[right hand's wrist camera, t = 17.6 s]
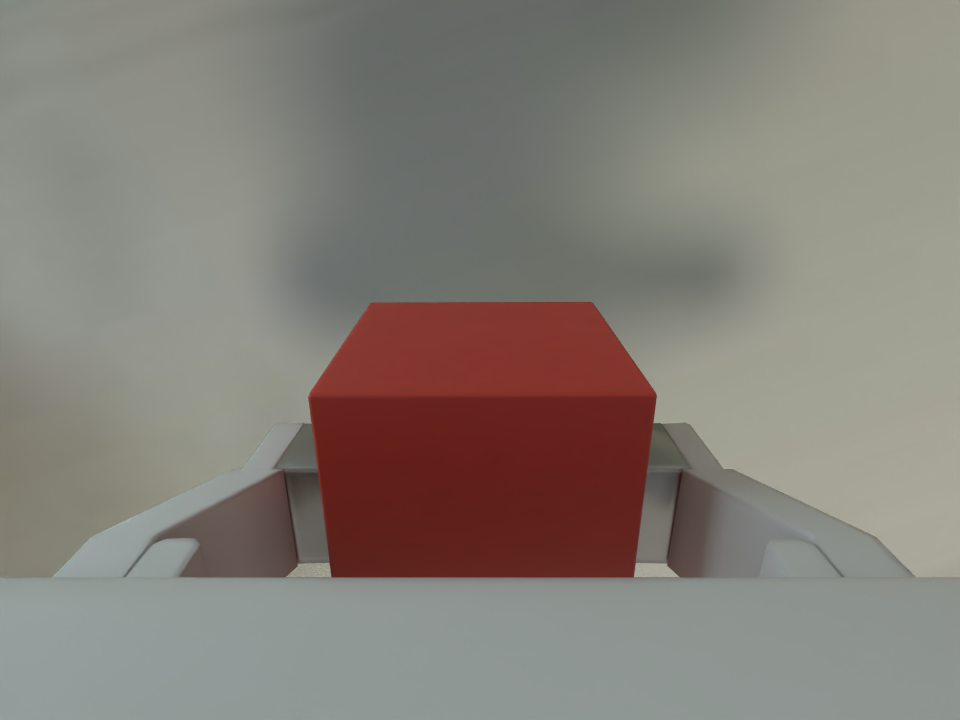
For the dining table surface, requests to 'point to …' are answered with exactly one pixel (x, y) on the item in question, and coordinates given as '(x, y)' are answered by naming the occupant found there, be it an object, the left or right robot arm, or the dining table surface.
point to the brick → (482, 443)
